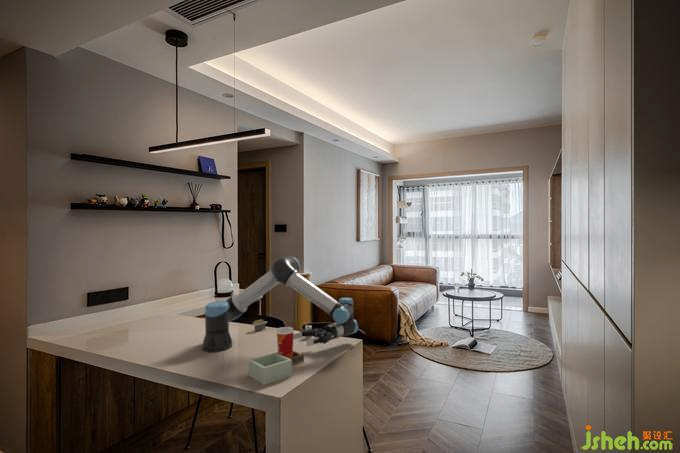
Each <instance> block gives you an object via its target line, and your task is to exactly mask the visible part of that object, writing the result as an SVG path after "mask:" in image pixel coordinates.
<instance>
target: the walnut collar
mask: <svg viewBox="0 0 680 453" xmlns="http://www.w3.org/2000/svg"><path fill="white" fill-rule="evenodd" d="M275 353H277V354H278V351H276V352H275ZM289 359H291V360H292V366H294V365H297V364H300V363H304V361H305V354H303V353H301V352H299V351H296V350H293V356H292V357H291V358H289Z"/></svg>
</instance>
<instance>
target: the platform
mask: <svg viewBox="0 0 680 453" xmlns="http://www.w3.org/2000/svg"><path fill="white" fill-rule="evenodd" d="M267 323H268V321H266V320H265V321H264V319H262V318H261V319H258V320H257V319H256V320H254V321H253V322H252V324H251V325H252V326H254V332H255V331H257V332H260V331H264V330H266V324H267ZM263 329H264V330H263ZM259 330H260V331H259Z"/></svg>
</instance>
